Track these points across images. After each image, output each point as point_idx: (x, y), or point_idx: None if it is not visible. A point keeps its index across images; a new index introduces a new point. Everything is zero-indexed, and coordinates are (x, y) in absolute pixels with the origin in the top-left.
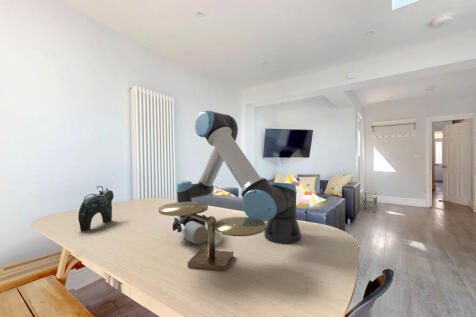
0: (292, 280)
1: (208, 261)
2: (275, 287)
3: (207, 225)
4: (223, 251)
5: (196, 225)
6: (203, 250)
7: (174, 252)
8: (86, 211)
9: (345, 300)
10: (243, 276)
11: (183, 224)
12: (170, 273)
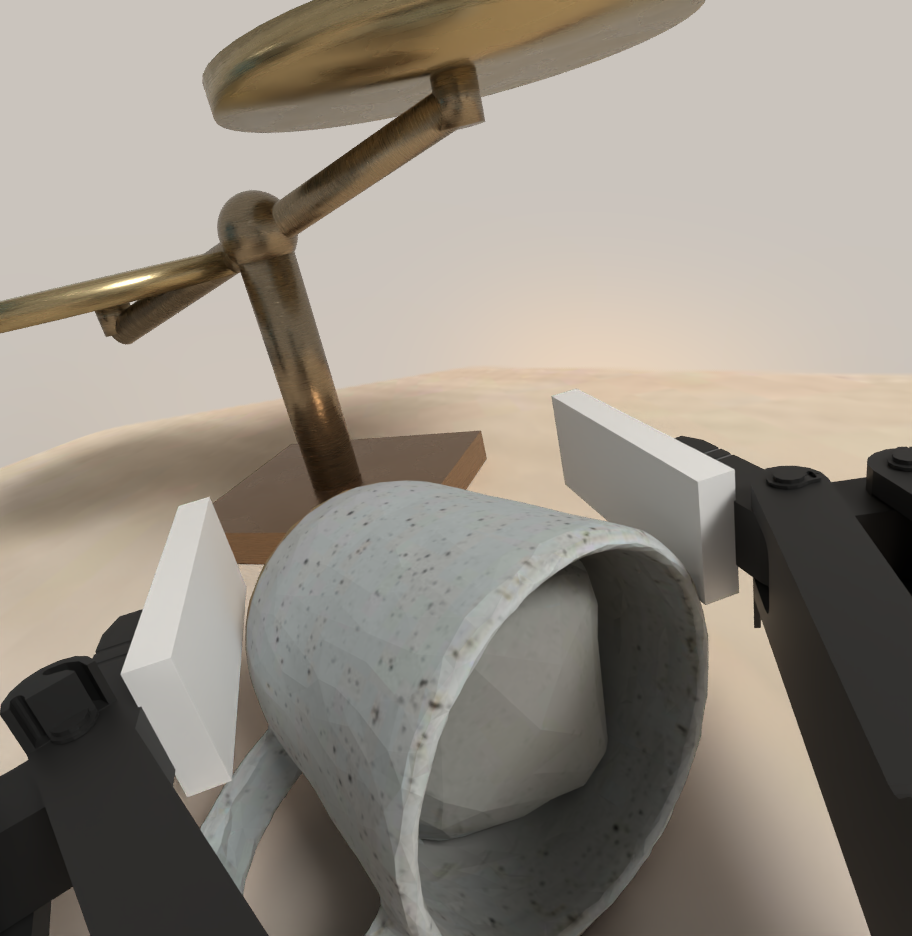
0: (85, 476)
1: (363, 450)
2: (170, 448)
3: (210, 567)
4: (235, 529)
5: (399, 486)
6: None
7: None
8: None
9: (47, 450)
10: (238, 462)
11: (807, 686)
12: None
